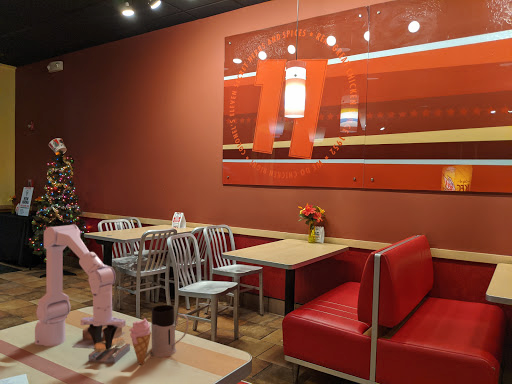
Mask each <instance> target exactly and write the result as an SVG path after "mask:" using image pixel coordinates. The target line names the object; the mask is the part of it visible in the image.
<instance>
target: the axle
mask: <svg viewBox="0 0 512 384" xmlns="http://www.w3.org/2000/svg"><path fill="white" fill-rule="evenodd" d="M124 345H125V338H124V337H122V336H120V337H119V338H115V339H113V341H112V345H111V348H109V349H108V350H110V349H113V348H121V347H122V346H124ZM94 350H95V352H97V353H99V352H103V351H106V350H107V349H106V346H105V341H102V342H98V343H96V344H95V346H94V349H93V351H94Z"/></svg>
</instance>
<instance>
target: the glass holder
mask: <svg viewBox="0 0 512 384" xmlns="http://www.w3.org/2000/svg"><path fill="white" fill-rule="evenodd" d="M181 316H182V317H184V319H185V320H186V328H185V331H184V333H183V335H182V337H181V338H179V339H178V340H177V341H176V327H177V326H178V323H179V318H180V317H181ZM150 319H151V322H150V323H151V324H150V327H151V328H150V330H151V353H150V355H151V356H152V357H155V358H166V357H170V356H172V355H174V354H176V353H177V348H176V344H178V343H179V342H180V341H181V340H182V339H183V338H184V337H186V335H187V332H188V330H189V329H188V328H189V318H188V316H186V315H185V314H184V313H183V314H182V313H181V314H179V315H178V316H177V317H176V319H175V306H173V305H170V304H160V305H157V306H153V307H152V308H151V318H150Z"/></svg>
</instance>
